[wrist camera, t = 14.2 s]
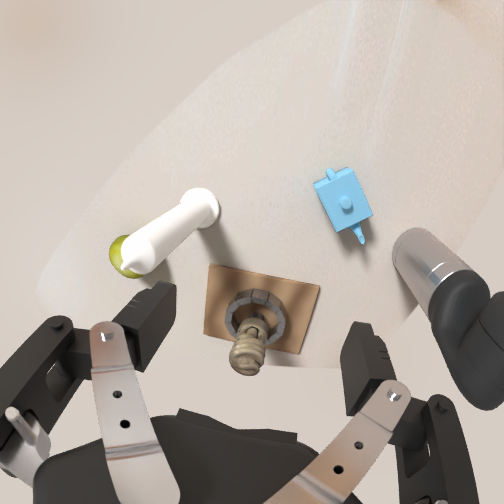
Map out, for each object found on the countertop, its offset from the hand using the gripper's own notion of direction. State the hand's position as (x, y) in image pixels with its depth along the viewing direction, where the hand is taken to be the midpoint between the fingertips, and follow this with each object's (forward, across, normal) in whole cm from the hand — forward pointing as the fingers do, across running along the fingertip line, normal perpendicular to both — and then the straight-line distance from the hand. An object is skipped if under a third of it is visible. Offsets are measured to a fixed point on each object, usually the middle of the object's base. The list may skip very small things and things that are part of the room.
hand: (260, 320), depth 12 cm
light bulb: (+35, +1, +24) cm, 43 cm away
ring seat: (+36, +1, +24) cm, 43 cm away
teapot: (+36, -9, 0) cm, 37 cm away
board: (+36, +1, +24) cm, 43 cm away
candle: (+36, +14, +6) cm, 39 cm away
